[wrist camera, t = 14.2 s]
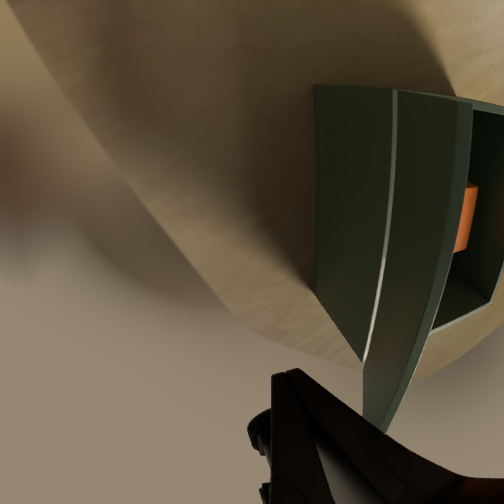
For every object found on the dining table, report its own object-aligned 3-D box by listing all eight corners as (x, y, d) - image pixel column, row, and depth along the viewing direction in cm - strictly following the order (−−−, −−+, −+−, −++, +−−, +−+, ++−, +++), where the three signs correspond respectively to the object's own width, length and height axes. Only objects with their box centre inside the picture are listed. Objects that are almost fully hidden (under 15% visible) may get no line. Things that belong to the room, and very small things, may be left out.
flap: (367, 466, 12) (359, 466, 12) (369, 370, 17) (363, 370, 17) (473, 103, 5) (456, 100, 5) (406, 91, 10) (396, 90, 10)
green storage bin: (437, 260, 27) (491, 305, 20) (314, 294, 24) (361, 363, 18) (456, 96, 19) (533, 114, 13) (313, 84, 17) (392, 88, 11)
